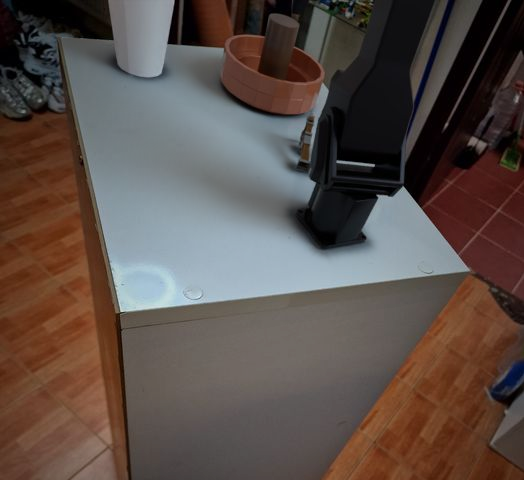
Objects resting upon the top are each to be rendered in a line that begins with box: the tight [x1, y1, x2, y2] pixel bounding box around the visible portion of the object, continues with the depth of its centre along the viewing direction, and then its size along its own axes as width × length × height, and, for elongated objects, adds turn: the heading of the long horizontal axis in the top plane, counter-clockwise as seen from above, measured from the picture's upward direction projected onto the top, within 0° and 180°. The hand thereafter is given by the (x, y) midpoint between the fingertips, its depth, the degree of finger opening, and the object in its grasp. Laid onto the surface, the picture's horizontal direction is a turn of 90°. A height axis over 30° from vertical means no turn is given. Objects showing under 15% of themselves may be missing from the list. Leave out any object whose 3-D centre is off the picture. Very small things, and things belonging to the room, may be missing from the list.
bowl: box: [219, 34, 326, 115], centre depth 66 cm, size 15×15×5 cm
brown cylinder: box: [257, 13, 300, 81], centre depth 64 cm, size 4×4×9 cm
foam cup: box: [107, 0, 175, 78], centre depth 58 cm, size 10×9×13 cm
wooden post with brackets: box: [295, 112, 316, 173], centre depth 58 cm, size 2×8×4 cm, turn 177°
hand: (289, 1), depth 58 cm, fingers open, 9 cm apart
